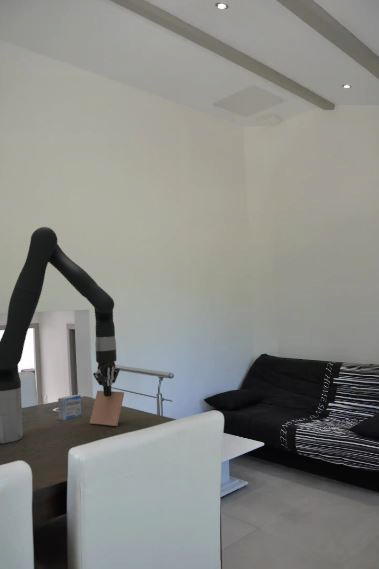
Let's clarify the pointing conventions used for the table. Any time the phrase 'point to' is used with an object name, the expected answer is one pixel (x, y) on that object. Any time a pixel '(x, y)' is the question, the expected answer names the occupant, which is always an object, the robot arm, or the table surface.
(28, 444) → the table surface
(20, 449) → the table surface
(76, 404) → the medicine box
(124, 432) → the table surface
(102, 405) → the terracotta tile
